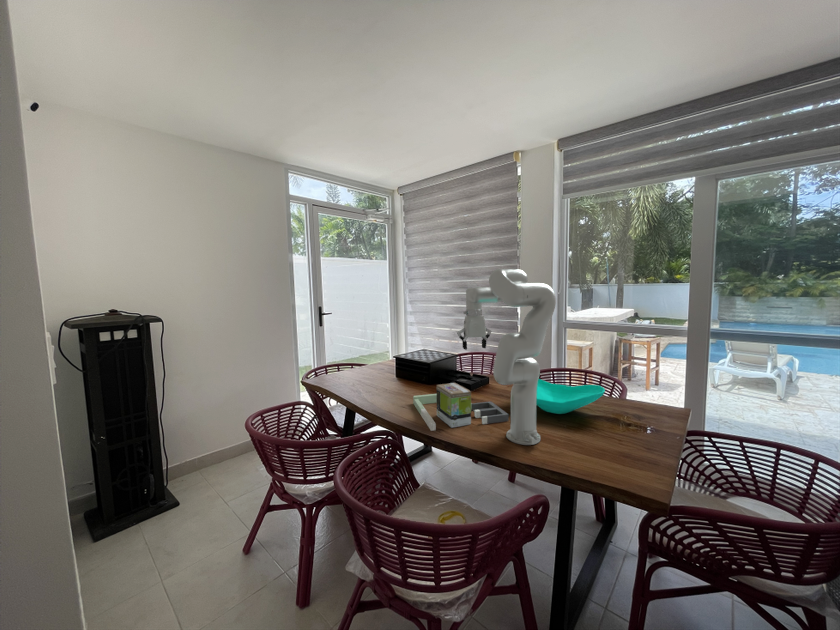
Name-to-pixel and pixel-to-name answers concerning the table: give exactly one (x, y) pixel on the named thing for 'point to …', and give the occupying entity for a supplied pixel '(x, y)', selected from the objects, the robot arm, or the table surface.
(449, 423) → the tea box
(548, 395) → the table top decor
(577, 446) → the table surface
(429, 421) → the lane
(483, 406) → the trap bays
